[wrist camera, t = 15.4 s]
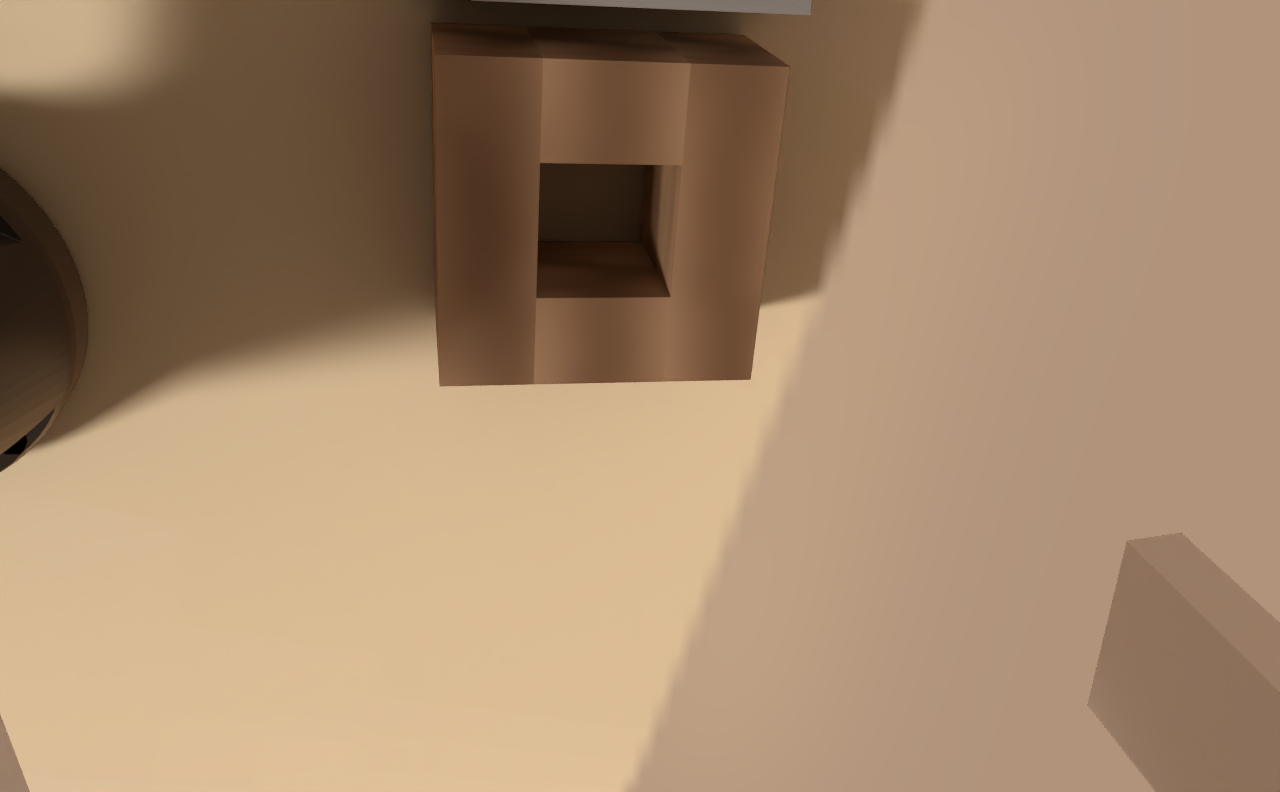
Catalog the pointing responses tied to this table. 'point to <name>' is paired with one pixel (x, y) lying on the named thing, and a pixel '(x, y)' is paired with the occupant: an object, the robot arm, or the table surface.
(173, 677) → the table surface
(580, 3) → the tray
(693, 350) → the wooden square socket block
